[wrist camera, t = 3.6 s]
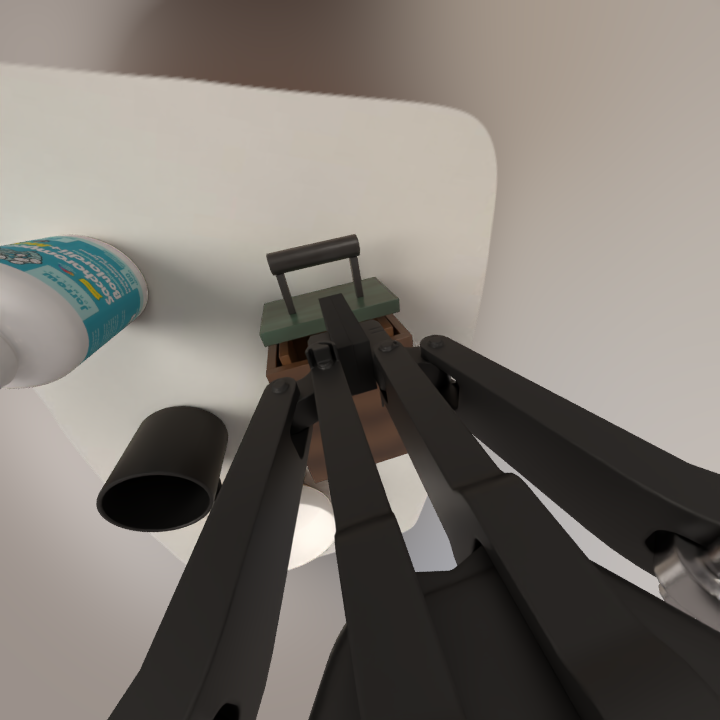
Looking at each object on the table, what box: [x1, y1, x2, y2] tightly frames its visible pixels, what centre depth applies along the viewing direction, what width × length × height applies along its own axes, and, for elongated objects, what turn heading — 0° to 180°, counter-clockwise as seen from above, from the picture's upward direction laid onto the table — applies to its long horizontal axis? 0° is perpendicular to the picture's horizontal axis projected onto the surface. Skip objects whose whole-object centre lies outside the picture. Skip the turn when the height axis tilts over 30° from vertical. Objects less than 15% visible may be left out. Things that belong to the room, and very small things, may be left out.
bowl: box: [288, 484, 336, 570], centre depth 42 cm, size 20×20×6 cm
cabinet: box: [266, 314, 413, 483], centre depth 30 cm, size 16×13×9 cm
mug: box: [97, 406, 228, 532], centre depth 30 cm, size 9×12×9 cm
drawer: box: [260, 234, 400, 366], centre depth 27 cm, size 20×11×7 cm, turn 10°
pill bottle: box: [0, 235, 148, 389], centre depth 17 cm, size 8×7×14 cm
